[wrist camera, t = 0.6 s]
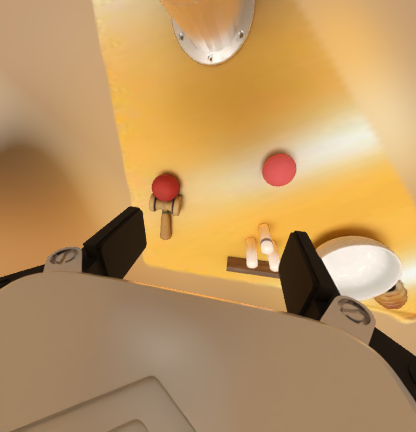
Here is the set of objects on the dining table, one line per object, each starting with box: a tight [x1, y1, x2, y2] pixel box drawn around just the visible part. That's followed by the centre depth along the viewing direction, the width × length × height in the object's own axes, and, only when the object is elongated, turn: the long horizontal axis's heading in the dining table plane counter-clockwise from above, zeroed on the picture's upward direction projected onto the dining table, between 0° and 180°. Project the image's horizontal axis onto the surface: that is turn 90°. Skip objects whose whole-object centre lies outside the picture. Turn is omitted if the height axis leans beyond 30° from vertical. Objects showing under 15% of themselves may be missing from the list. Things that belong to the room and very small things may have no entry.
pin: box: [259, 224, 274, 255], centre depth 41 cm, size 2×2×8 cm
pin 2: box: [268, 240, 280, 272], centre depth 42 cm, size 2×2×8 cm
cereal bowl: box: [316, 236, 402, 301], centre depth 41 cm, size 17×17×7 cm
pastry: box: [374, 281, 407, 309], centre depth 46 cm, size 9×7×4 cm
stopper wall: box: [226, 257, 280, 278], centre depth 48 cm, size 2×16×4 cm, turn 89°
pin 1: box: [246, 237, 258, 268], centre depth 43 cm, size 2×2×8 cm
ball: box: [262, 154, 296, 186], centre depth 34 cm, size 6×6×6 cm
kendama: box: [149, 174, 182, 240], centre depth 44 cm, size 8×6×18 cm
